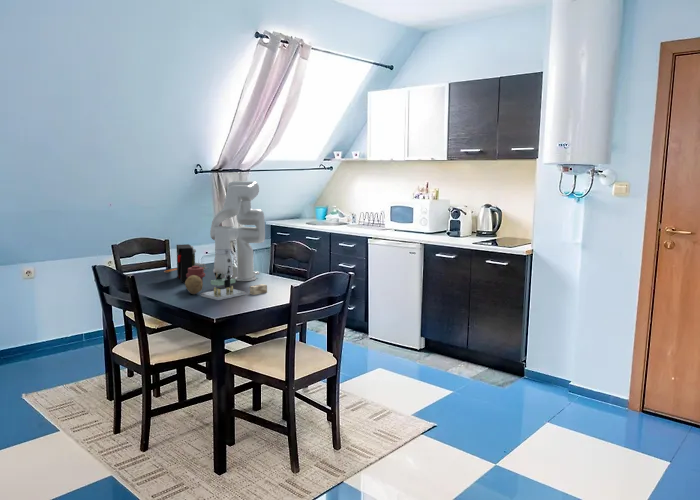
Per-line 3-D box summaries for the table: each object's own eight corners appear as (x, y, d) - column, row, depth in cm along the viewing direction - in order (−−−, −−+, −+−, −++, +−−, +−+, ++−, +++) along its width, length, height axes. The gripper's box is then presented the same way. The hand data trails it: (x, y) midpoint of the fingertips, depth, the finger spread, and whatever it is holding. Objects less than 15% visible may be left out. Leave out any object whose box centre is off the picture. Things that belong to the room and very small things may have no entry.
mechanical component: (193, 286, 306) (208, 287, 303) (183, 289, 296) (199, 290, 294) (192, 264, 304) (208, 265, 302) (182, 267, 295) (198, 268, 292)
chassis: (228, 290, 295) (228, 282, 294) (245, 294, 286) (245, 286, 285) (200, 296, 281) (200, 287, 280) (217, 300, 272) (217, 291, 272)
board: (228, 281, 289) (227, 277, 288) (235, 282, 285) (235, 279, 285) (210, 284, 280) (210, 280, 280) (218, 285, 276) (218, 281, 276)
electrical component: (196, 282, 318) (196, 247, 315) (178, 283, 314) (177, 248, 311) (193, 276, 334) (192, 244, 331) (176, 277, 330) (175, 244, 327)
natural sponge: (187, 292, 290) (186, 273, 289) (204, 292, 291) (204, 273, 290) (183, 295, 281) (183, 276, 280) (201, 295, 282) (201, 276, 281)
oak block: (262, 291, 295) (262, 283, 294) (267, 292, 293) (267, 284, 292) (249, 293, 288) (249, 286, 287) (254, 294, 286) (254, 287, 285)
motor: (189, 267, 366) (187, 260, 365) (212, 270, 354) (211, 263, 353) (160, 278, 347) (159, 270, 346) (183, 282, 335) (182, 274, 334)
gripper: (239, 253, 278) (239, 287, 280) (218, 249, 289) (218, 283, 291) (227, 254, 272) (228, 289, 274) (206, 251, 283) (207, 285, 285)
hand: (223, 286), depth 283 cm, fingers closed on board, 6 cm apart
